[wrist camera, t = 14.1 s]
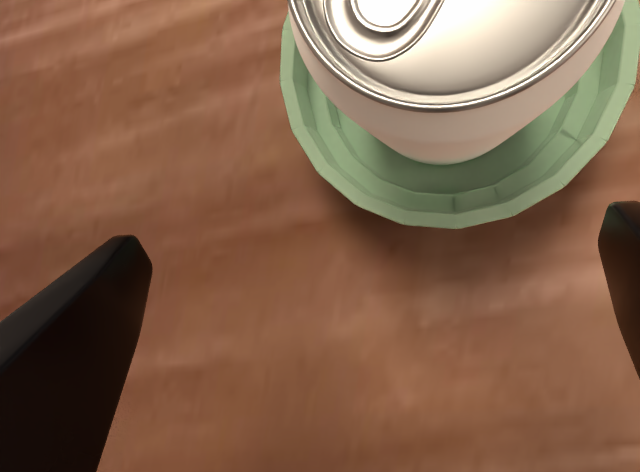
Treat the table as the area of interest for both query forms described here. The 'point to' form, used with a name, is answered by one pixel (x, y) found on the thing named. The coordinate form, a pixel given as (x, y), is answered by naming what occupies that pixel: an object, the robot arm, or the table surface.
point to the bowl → (474, 175)
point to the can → (448, 65)
